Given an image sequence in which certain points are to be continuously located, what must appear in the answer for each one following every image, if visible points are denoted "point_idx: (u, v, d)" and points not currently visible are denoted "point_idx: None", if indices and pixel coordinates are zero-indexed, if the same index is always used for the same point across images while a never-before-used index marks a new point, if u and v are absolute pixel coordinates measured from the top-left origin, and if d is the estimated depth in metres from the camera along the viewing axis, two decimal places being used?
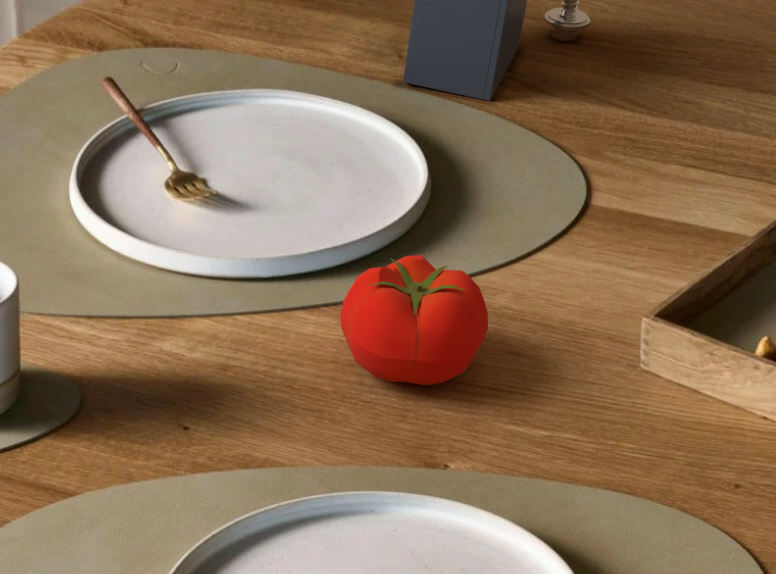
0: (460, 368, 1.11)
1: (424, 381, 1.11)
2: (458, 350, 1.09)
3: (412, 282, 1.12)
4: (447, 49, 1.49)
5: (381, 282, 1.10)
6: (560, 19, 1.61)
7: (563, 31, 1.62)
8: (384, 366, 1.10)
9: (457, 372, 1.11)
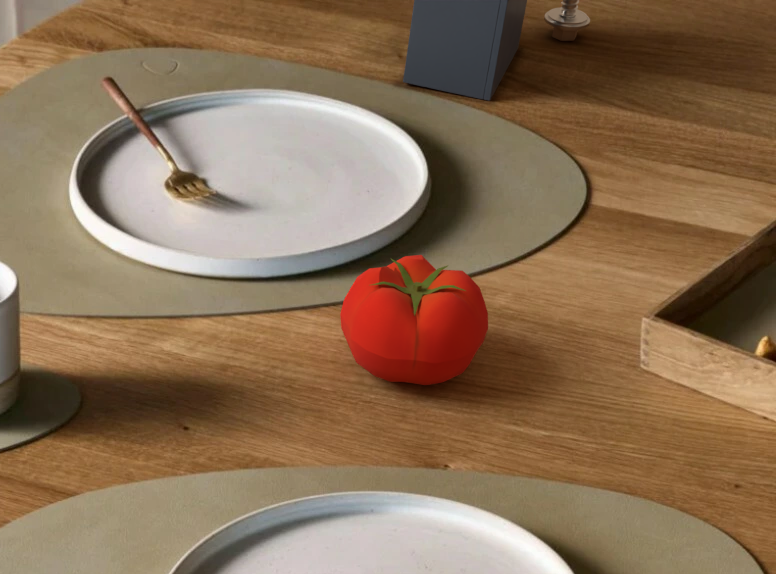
0: (460, 368, 1.11)
1: (424, 381, 1.11)
2: (458, 350, 1.09)
3: (412, 282, 1.12)
4: (447, 49, 1.49)
5: (381, 282, 1.10)
6: (560, 19, 1.61)
7: (563, 31, 1.62)
8: (384, 366, 1.10)
9: (457, 372, 1.11)
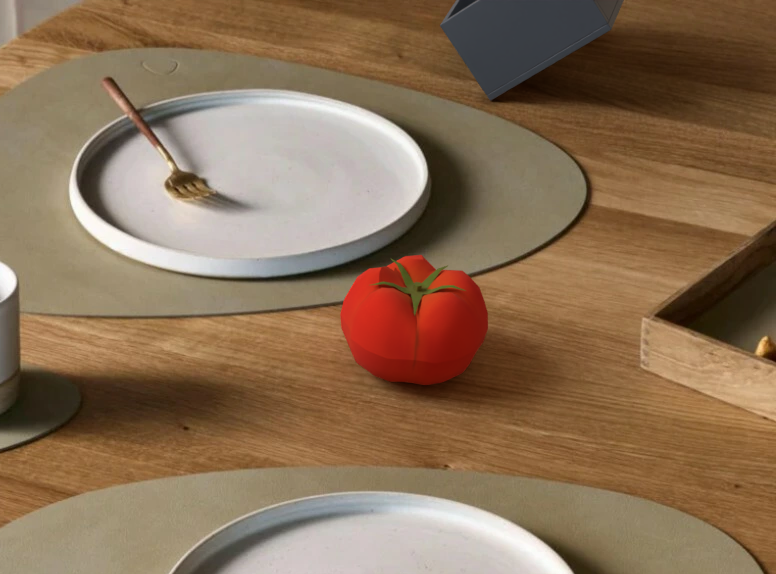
0: (460, 368, 1.11)
1: (424, 381, 1.11)
2: (458, 350, 1.09)
3: (412, 282, 1.12)
4: (498, 36, 1.47)
5: (381, 282, 1.10)
6: None
7: None
8: (384, 366, 1.10)
9: (457, 372, 1.11)
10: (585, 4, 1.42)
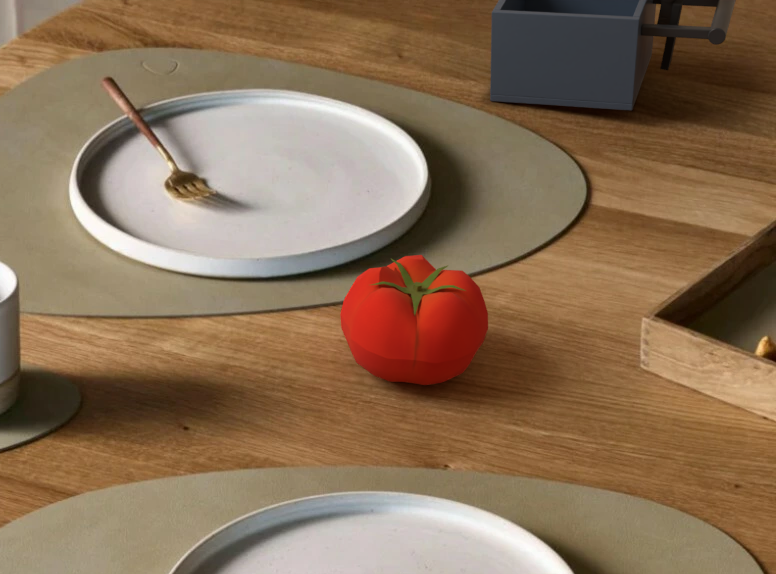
0: (460, 368, 1.11)
1: (424, 381, 1.11)
2: (458, 350, 1.09)
3: (412, 282, 1.12)
4: (535, 54, 1.47)
5: (381, 282, 1.10)
6: None
7: None
8: (384, 366, 1.10)
9: (457, 372, 1.11)
10: (625, 77, 1.45)
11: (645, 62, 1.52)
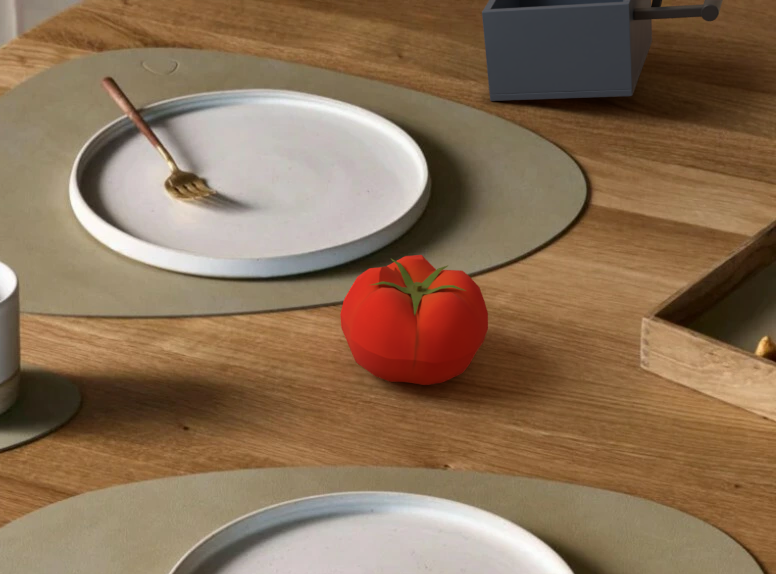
0: (460, 368, 1.11)
1: (424, 381, 1.11)
2: (458, 350, 1.09)
3: (412, 282, 1.12)
4: (529, 50, 1.46)
5: (381, 282, 1.10)
6: None
7: None
8: (384, 366, 1.10)
9: (457, 372, 1.11)
10: (622, 63, 1.44)
11: (644, 48, 1.51)
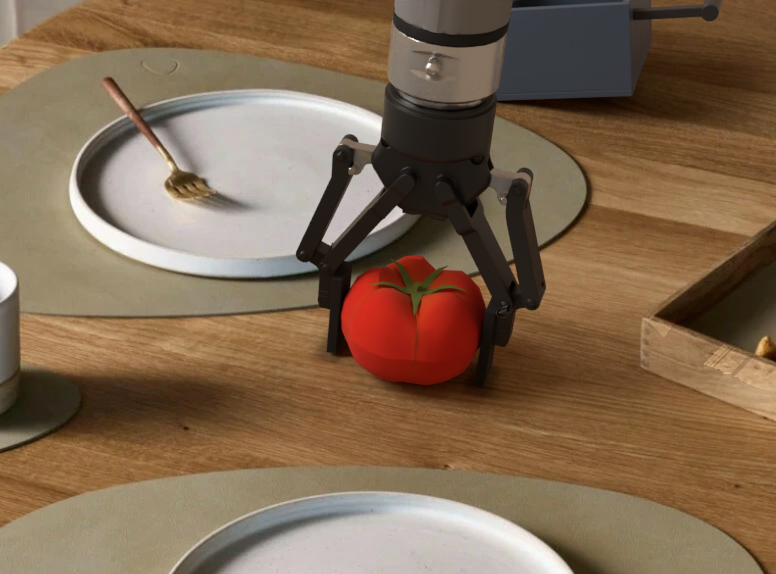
0: (460, 368, 1.11)
1: (424, 381, 1.11)
2: (458, 350, 1.09)
3: (412, 282, 1.12)
4: (529, 50, 1.46)
5: (381, 282, 1.10)
6: None
7: None
8: (384, 366, 1.10)
9: (457, 372, 1.11)
10: (622, 63, 1.44)
11: (644, 48, 1.51)
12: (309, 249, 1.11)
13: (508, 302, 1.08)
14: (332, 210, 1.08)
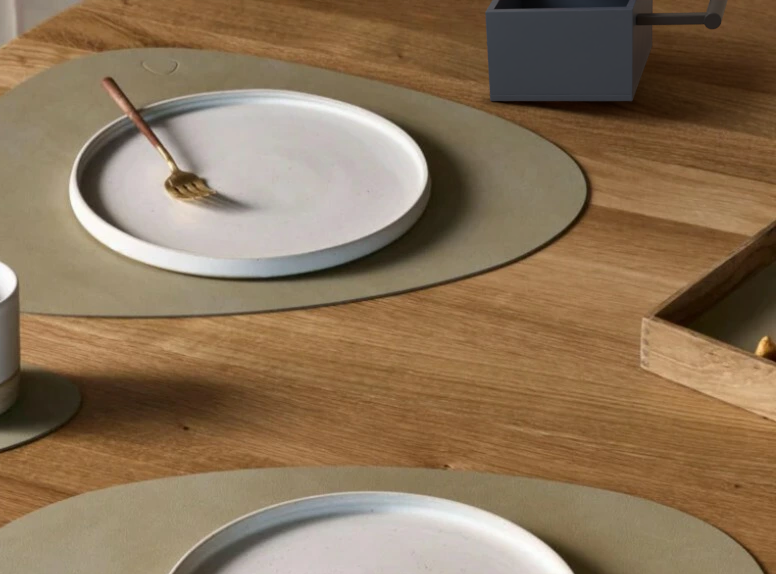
0: None
1: None
2: None
3: None
4: (531, 51, 1.47)
5: None
6: None
7: None
8: None
9: None
10: (623, 68, 1.45)
11: (644, 53, 1.52)
12: None
13: None
14: None
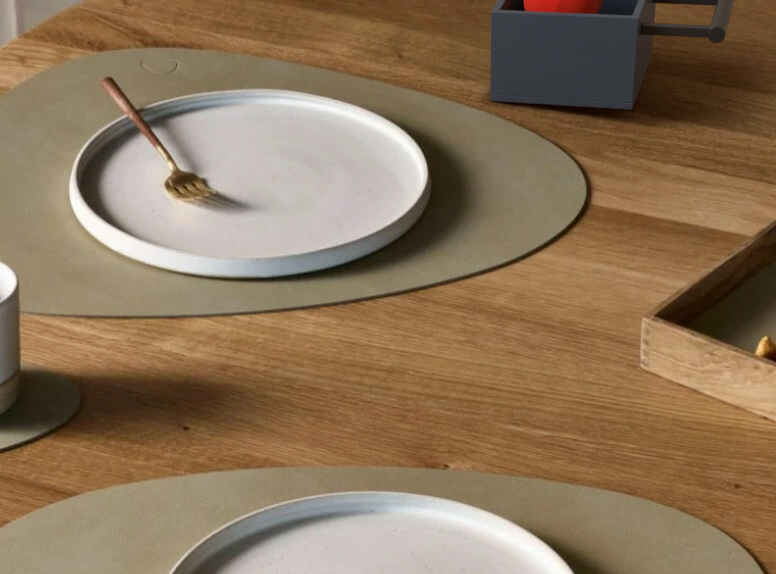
0: None
1: None
2: None
3: None
4: (534, 54, 1.47)
5: None
6: None
7: None
8: None
9: None
10: (625, 76, 1.45)
11: (645, 61, 1.52)
12: None
13: None
14: None
